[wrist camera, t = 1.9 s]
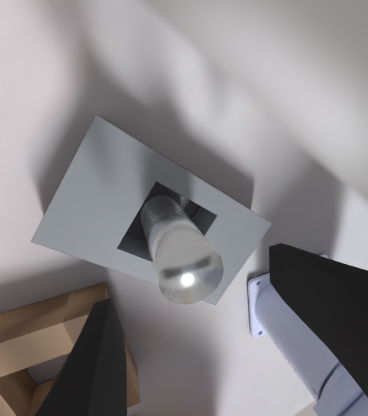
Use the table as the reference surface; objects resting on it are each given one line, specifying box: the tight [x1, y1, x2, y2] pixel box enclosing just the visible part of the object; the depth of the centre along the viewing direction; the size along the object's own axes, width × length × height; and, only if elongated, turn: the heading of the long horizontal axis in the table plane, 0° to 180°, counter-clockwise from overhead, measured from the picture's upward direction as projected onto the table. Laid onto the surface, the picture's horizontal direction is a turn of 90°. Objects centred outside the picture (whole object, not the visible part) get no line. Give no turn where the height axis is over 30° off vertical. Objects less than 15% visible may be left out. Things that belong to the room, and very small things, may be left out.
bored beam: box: [31, 115, 272, 305], centre depth 17 cm, size 14×8×3 cm, turn 57°
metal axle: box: [140, 195, 224, 304], centre depth 14 cm, size 3×3×8 cm
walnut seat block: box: [0, 282, 140, 416], centre depth 18 cm, size 11×11×3 cm
